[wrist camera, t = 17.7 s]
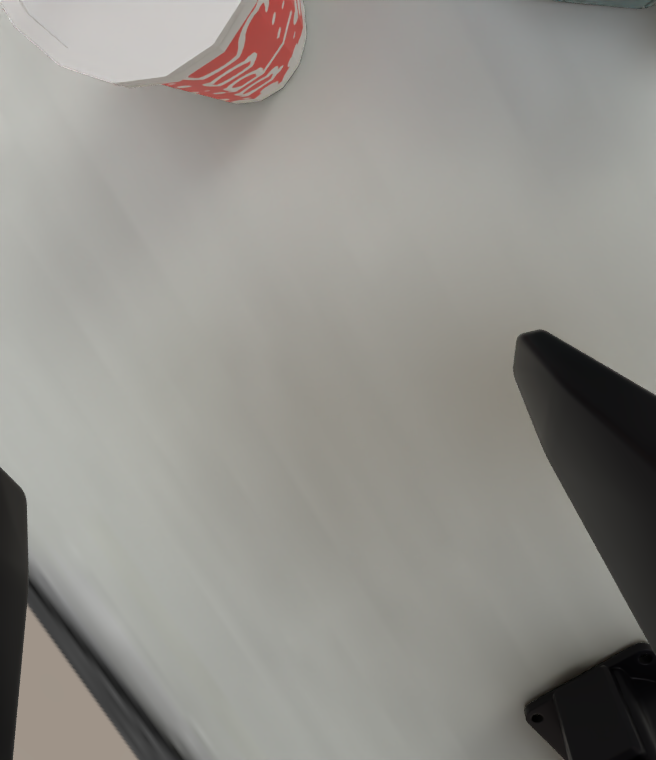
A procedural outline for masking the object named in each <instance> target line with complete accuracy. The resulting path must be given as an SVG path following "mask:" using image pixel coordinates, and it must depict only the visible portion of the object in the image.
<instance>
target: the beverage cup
mask: <svg viewBox="0 0 656 760" xmlns="http://www.w3.org/2000/svg"><path fill="white" fill-rule="evenodd" d="M0 3H1V5H2V7H3V9H4V10H5V12H6V14H7V16H8V17H9V19H10V21H11V22H12V24H13V26H14V27H15V28H16V29H17V30H18V31H20V32H21V33H22V34H23V35H24V36H25V37H27V38H28V39H29V40H30V41H31V42H32V43H33V44H35V45H36V46H37V47H38V48H39V49H40V50H42V51H43V52H44V53H45V54H46V55H47V56H49V57H50V58H51V59H52V60H53V61H54V62H56V63H57V64H58V65H59V66H61V67H64V68H66V69H69V70H72V71H75V72H78V73H82V74H85V75H88V76H91V77H94V78H97V79H100V80H103V81H106V82H109V83H112V84H115V85H118V86H124V87H128V88H135V87H143V86H150V85H158V84H162V85H165V86H169V87H173V88H177V89H181V90H185V91H189V92H192V93H196V94H200V95H204V96H208V97H212V98H216V99H219V100H223V101H227V102H231V103H235V104H241V103H249V102H257V101H262V100H264V99H265V98H267V97H269V96H270V95H272V94H273V93H275V92H277V91H278V90H280V89H281V88H283V87H284V86H285V84H286V83H287V81H288V80H289V79H290V77H291V76H292V74H293V73H294V71H295V70H296V69H297V67H298V66H299V64H300V60H301V56H302V53H303V49H304V45H305V41H306V37H307V31H306V20H305V8H304V3H303V1H302V0H0Z"/></svg>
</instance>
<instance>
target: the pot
mask: <svg viewBox="0 0 656 760" xmlns="http://www.w3.org/2000/svg"><path fill="white" fill-rule="evenodd" d="M553 1H561V2H572V3H582V4H593V5H603V6H614V7H624V8H634V9H642V8H643V7H645V8H648V7H650V6H652V5H654V4H656V0H553Z"/></svg>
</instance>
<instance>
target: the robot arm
mask: <svg viewBox="0 0 656 760" xmlns="http://www.w3.org/2000/svg"><path fill="white" fill-rule="evenodd" d="M513 372H514V377H515V380H516V383H517V385H518V388H519V390H520V393H521V395H522V398H523V400H524V403H525V405H526V408H527V410H528V413H529V415H530V418H531V420H532V423H533V425H534V428H535V430H536V433H537V435H538V438H539V440H540V443H541V445H542V447H543V450H544V452H545V454H546V456H547V458H548V460H549V462H550V464H551V466H552V468H553V470H554V471H555V473H556V475H557V477H558V479H559V480H560V482H561V484H562V486H563V488H564V490H565V491H566V493H567V495H568V497H569V499H570V500H571V502H572V504H573V506H574V508H575V510H576V511H577V513H578V515H579V517H580V519H581V520H582V522H583V524H584V526H585V528H586V530H587V531H588V533H589V535H590V537H591V539H592V540H593V542H594V544H595V546H596V548H597V550H598V551H599V553H600V555H601V557H602V559H603V561H604V562H605V564H606V566H607V568H608V570H609V571H610V573H611V575H612V577H613V579H614V581H615V582H616V584H617V586H618V588H619V590H620V591H621V593H622V595H623V597H624V599H625V601H626V602H627V604H628V606H629V608H630V610H631V611H632V613H633V615H634V617H635V619H636V621H637V622H638V624H639V626H640V628H641V630H642V631H643V633H644V635H645V637H646V639H647V641H648V642H649V644H647V643H637V644H635V645H633V646H631V647H629V648H628V649H626V650H624V651H622V652H620V653H619V654H617V655H615V656H613V657H611V658H610V659H608V660H606V661H604V662H602V663H601V664H599V665H597V666H595V667H594V668H592V669H590V670H588V671H586V672H585V673H583V674H581V675H579V676H577V677H576V678H574V679H572V680H570V681H568V682H567V683H565V684H563V685H561V686H560V687H558V688H556V689H554V690H552V691H551V692H549V693H547V694H545V695H543V696H542V697H540V698H538V699H536V700H534V701H533V702H531V703H529V704H528V705H527V706H526V707H525V709H524V711H525V716H526V721H527V722H528V723H529V724H530V725H531V726H532V727H533V728H534V729H535V730H536V731H537V732H538V733H539V734H540V735H541V736H542V737H543V738H544V739H545V740H546V741H547V742H548V743H549V744H550V745H551V746H552V747H553V748H554V749H555V750H556V751H557V752H558V753H559V754H560V755H561V756H562V757H563V758H564V759H565V760H656V395H654V394H653V393H651V392H649V391H648V390H646V389H644V388H642V387H641V386H639V385H637V384H636V383H634V382H632V381H631V380H629V379H627V378H625V377H624V376H622V375H620V374H619V373H617V372H615V371H613V370H612V369H610V368H608V367H607V366H605V365H603V364H602V363H600V362H598V361H596V360H595V359H593V358H591V357H590V356H588V355H586V354H584V353H583V352H581V351H579V350H578V349H576V348H574V347H573V346H571V345H569V344H567V343H566V342H564V341H562V340H561V339H559V338H557V337H555V336H554V335H552V334H550V333H549V332H547V331H545V330H535V331H531V332H527V333H523V334H520V335H519V336H518V338H517V341H516V349H515V356H514V364H513ZM28 577H29V569H28V533H27V502H26V497H25V494H24V492H23V490H22V489H21V487H20V486H19V485H18V484H17V483H16V482H15V481H14V480H13V479H12V478H11V477H10V476H9V475H8V474H7V473H6V472H5V471H4V470H3V469H2V468H0V760H13V750H14V739H15V728H16V717H17V707H18V696H19V685H20V674H21V663H22V653H23V641H24V630H25V620H26V609H27V598H28ZM644 654H647V655H646V656H644V657H640V656H641V655H644ZM534 714H539V715H534Z"/></svg>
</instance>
